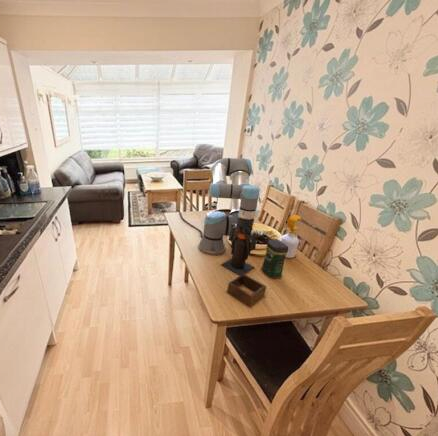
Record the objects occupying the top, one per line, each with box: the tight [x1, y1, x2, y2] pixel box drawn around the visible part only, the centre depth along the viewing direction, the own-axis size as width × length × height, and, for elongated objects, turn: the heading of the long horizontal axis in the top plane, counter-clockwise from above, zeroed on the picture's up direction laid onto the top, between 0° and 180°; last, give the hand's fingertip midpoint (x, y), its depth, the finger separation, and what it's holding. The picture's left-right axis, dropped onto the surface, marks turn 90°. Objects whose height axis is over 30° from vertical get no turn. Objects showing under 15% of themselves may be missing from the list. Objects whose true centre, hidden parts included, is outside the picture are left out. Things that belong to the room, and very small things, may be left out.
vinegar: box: [231, 232, 248, 269], centre depth 125 cm, size 7×7×20 cm
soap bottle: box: [279, 214, 302, 259], centre depth 136 cm, size 9×9×25 cm
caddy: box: [226, 273, 267, 308], centre depth 109 cm, size 12×12×6 cm
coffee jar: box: [261, 238, 288, 279], centre depth 121 cm, size 10×8×19 cm
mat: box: [221, 258, 255, 276], centre depth 130 cm, size 12×12×1 cm
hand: (239, 256), depth 127 cm, fingers closed on vinegar, 7 cm apart
